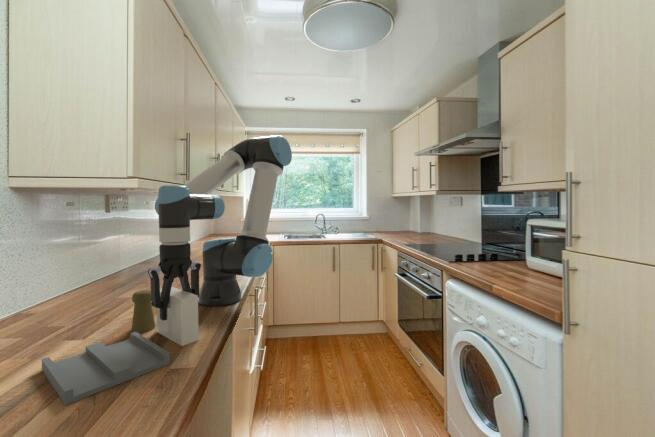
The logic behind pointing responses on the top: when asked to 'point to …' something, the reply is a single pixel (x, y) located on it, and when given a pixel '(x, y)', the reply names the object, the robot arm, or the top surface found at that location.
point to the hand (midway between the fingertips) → (177, 327)
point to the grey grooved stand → (103, 367)
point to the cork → (142, 312)
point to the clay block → (181, 317)
